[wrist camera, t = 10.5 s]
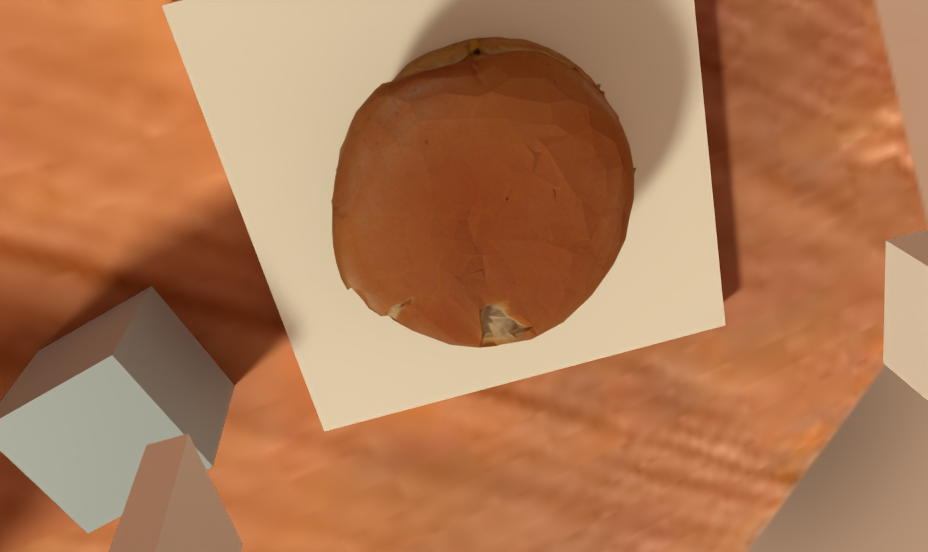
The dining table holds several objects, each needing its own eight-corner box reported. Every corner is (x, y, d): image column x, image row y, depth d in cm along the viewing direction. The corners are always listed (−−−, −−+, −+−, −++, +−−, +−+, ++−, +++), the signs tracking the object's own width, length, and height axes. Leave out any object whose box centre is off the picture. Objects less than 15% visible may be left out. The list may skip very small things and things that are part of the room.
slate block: (38, 349, 29) (-22, 430, 24) (151, 284, 28) (111, 355, 24) (128, 443, 31) (88, 533, 26) (234, 384, 30) (212, 466, 26)
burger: (555, -18, 24) (596, -4, 20) (648, 231, 28) (698, 287, 24) (273, 119, 25) (255, 161, 21) (402, 343, 29) (409, 417, 25)
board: (170, 1, 24) (161, 5, 23) (667, -127, 24) (681, -129, 23) (325, 413, 31) (324, 431, 30) (712, 311, 31) (725, 325, 30)
